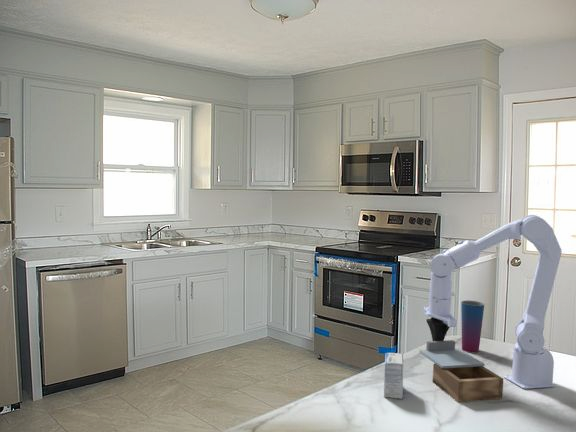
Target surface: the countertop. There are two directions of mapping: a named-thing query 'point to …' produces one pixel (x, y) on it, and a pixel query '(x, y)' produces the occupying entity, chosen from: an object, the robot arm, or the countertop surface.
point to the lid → (449, 355)
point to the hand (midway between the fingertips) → (437, 345)
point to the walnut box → (468, 383)
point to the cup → (471, 324)
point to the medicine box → (393, 375)
